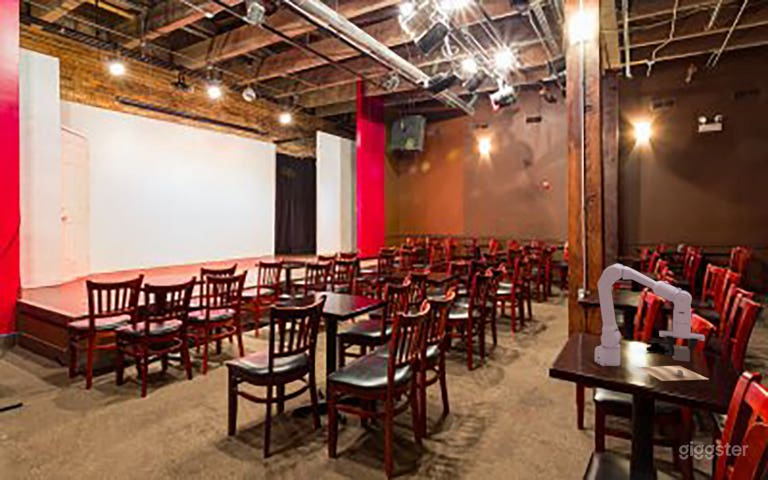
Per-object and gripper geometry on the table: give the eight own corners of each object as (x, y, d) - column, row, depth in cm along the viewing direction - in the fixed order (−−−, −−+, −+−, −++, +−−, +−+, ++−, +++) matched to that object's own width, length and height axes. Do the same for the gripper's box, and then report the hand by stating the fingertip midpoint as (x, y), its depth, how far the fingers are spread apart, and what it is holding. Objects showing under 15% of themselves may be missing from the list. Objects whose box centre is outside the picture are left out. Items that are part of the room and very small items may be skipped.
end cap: (676, 357, 197) (677, 343, 196) (666, 359, 194) (667, 345, 193) (655, 351, 206) (656, 337, 205) (645, 353, 203) (645, 339, 203)
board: (662, 384, 165) (662, 380, 165) (636, 370, 180) (636, 367, 180) (708, 382, 166) (708, 379, 166) (679, 369, 181) (679, 365, 181)
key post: (683, 377, 168) (683, 372, 168) (678, 377, 169) (678, 372, 168) (681, 374, 171) (681, 369, 171) (677, 374, 171) (677, 369, 171)
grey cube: (689, 361, 166) (690, 349, 166) (674, 359, 168) (674, 347, 168) (687, 357, 171) (687, 346, 170) (672, 356, 173) (672, 344, 173)
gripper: (702, 321, 169) (700, 355, 170) (658, 318, 175) (657, 351, 176) (706, 325, 163) (705, 361, 163) (661, 322, 169) (660, 356, 170)
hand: (680, 356), depth 169 cm, fingers closed on grey cube, 5 cm apart
